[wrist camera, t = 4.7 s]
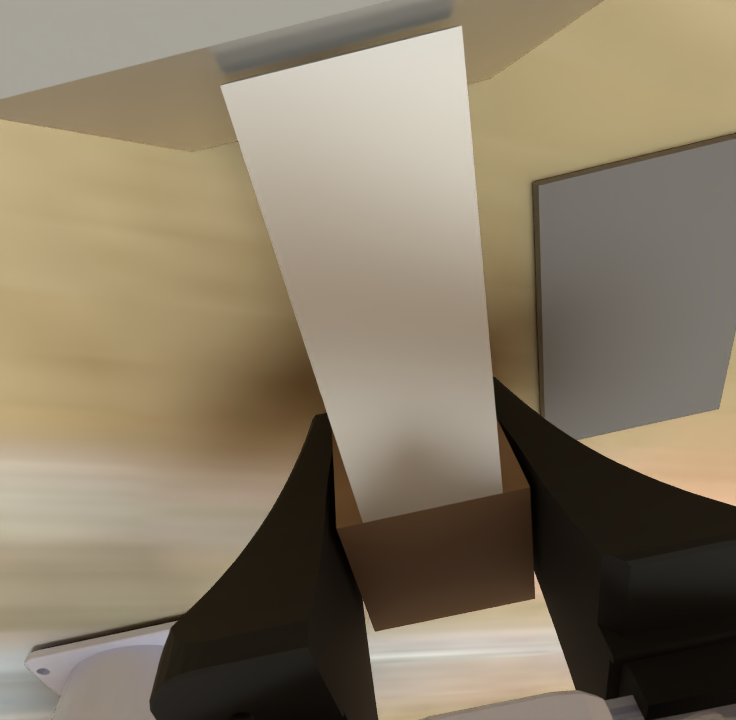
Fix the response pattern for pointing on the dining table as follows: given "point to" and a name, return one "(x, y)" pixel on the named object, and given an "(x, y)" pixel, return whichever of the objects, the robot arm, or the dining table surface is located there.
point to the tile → (221, 54)
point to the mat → (636, 288)
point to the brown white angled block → (394, 317)
